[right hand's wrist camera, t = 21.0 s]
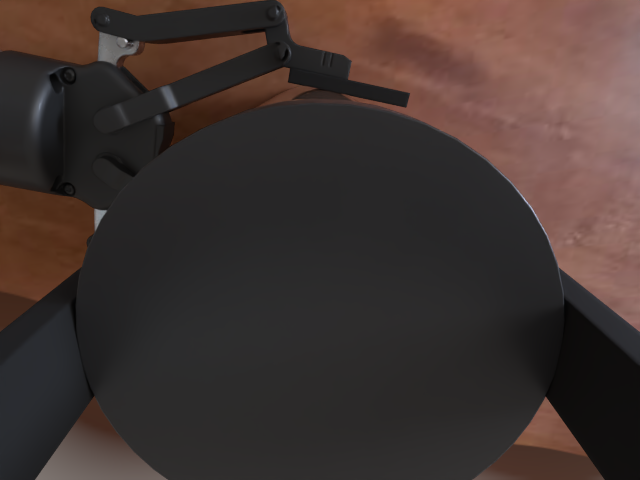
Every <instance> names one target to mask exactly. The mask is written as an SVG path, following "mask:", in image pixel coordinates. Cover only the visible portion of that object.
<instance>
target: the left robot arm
mask: <svg viewBox="0 0 640 480" xmlns="http://www.w3.org/2000/svg"><path fill="white" fill-rule="evenodd" d="M91 22H92V24H93V26H94V28H95V29H96V30H97V31H100V33H99V49H98V61H95V62H93V63H90V64H87V65H80V64H75V63H70V62H65V61H60V60H55V59H51V58H46V57H41V56H36V55H31V54H27V53H22V52H17V51H1V50H0V184H1V185H5V186H11V187H16V188H22V189H27V190H32V191H38V192H43V193H49V194H54V195H61V196H70V197H75V198H78V199H80V200H82V201H84V202H85V203H87V204H88V205H89V206H91V207H92V208H94V220H95V231H96V229H97V227H98V225H99V223H100V220H101V219H102V217H103V216H104V214H105V213H106V211H107V210H108V208H109V207H110V206H111V204H112V203H113V201H114V200H115V198H116V197H117V195H118V194H119V193H120V191H121V190H122V189H123V188H124V187H125V186H126V185H127V184H128V183H129V182H130V181H131V180H132V179H133V178H134V177H135V176H136V175H137V173H138V172H139V171H140V170H141V169H142V168H143V167H145V166H146V165H147V164H149V163H150V162H151V161H152V160H154V159H155V158H156V157H157V156H159V155H160V154H161V153H163V152H164V151H165V150H166V149H168V148H169V146H170V143H171V141H172V138H173V135H174V125H175V122H172V120H171V117H170V114H169V112H171V111H174V110H176V109H179V108H181V107H184V106H186V105H188V104H191V103H193V102H196V101H198V100H201V99H203V98H206V97H208V96H211V95H213V94H216V93H219V92H221V91H224V90H226V89H229V88H231V87H234V86H236V85H239V84H241V83H244V82H247V81H249V80H252V79H254V78H257V77H259V76H262V75H264V74H267V73H269V72H272V71H275V70H277V69H280V68H282V67H287V68H290V73H289V79H288V82H289V83H294V84H298V85H303V86H308V87H312V88H317V89H322V90H326V91H331V92H336V93H340V94H345V95H350V96H354V97H359V98H364V99H369V100H373V101H378V102H383V103H387V104H392V105H397V106H401V107H406V106H407V103H408V99H409V95H410V93H406V92H402V91H397V90H393V89H388V88H383V87H379V86H374V85H369V84H365V83H360V82H356V81H351V80H348V76H349V71H350V67H351V62H352V61H351V60H349V59H348V58H347V57H345V56H344V55H340V54H336V53H331V52H327V51H322V50H317V49H313V48H308V47H304V46H300V45H297V44H296V43H294V42H293V41H292V39H291V37H290V32H289V26H288V20H287V14H286V11H285V9H284V7H283V6H282V4H281V3H280V2H278V1H276V0H266V1H257V2H249V3H241V4H232V5H224V6H216V7H207V8H199V9H191V10H182V11H174V12H166V13H157V14H149V15H141V16H135V15H132V14H128V13H124V12H120V11H117V10H113V9H109V8H105V7H97V8H95V9H94V10H93V11H92V13H91ZM260 32H265V33H266V39H267V45H266V46H263V47H261V48H258V49H256V50H253V51H251V52H248V53H246V54H243V55H241V56H238V57H236V58H233V59H231V60H228V61H226V62H223V63H221V64H218V65H216V66H213V67H211V68H208V69H206V70H203V71H201V72H198V73H196V74H193V75H191V76H188V77H186V78H183V79H181V80H178V81H176V82H173V83H171V84H168V85H165V86H162V87H159V88H156V89H154V90H151V91H148V90H147V89H146V88H145V87H144V86H143V85H142V84H141V83H140V82H139V81H138V80H137V79H136V78H135V77H134V76H133V75H132V74H131V73H130V72H129V71H128V70H127V69H126V68H125V67H124V66H123V63H124V60H125V59H126V58H127V57H129V56H136V55H140V54H141V53H142V52H143V50H144V47H145V42H146V43H153V44H167V43H176V42H184V41H193V40H201V39H209V38H218V37H226V36H235V35H243V34H252V33H260ZM93 235H94V234H93ZM93 235H92V236H90V237H89V238H88V239H87V247H88V246H89V243H90V241H91V239H92V237H93Z"/></svg>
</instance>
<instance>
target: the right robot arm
mask: <svg viewBox="0 0 640 480" xmlns="http://www.w3.org/2000/svg"><path fill="white" fill-rule="evenodd" d="M81 268H82V267H81ZM81 268H80V269H79V270H77V271H76V272H75V273H74V274H72V275H71V276H70V277H69V278H67V279H66V280H65V281H63V282H62V283H61V284H60V285H58V286H57V287H56V288H55V289H53V290H52V291H51V292H50V293H48V294H47V295H46V296H45V297H43V298H42V299H41V300H40V301H38V302H37V303H36V304H35V305H33V306H32V307H31V308H30V309H28V310H27V311H26V312H25V313H23V314H22V315H21V316H20V317H18V318H17V319H16V320H15V321H13V322H12V323H11V324H10V325H8V326H7V327H6V328H5V329H3V330H2V331H1V332H0V480H35V479H36V477H37V476H38V475H39V473H40V472H41V470H42V469H43V468H44V466H45V465H46V463H47V462H48V460H49V459H50V458H51V456H52V455H53V453H54V452H55V451H56V449H57V448H58V446H59V445H60V443H61V442H62V441H63V439H64V438H65V436H66V435H67V434H68V432H69V431H70V429H71V428H72V427H73V425H74V424H75V422H76V421H77V419H78V418H79V417H80V415H81V414H82V412H83V411H84V410H85V408H86V407H87V405H88V404H89V402H90V401H91V400H92V398H93V397H94V394H93V392H92V390H91V388H90V386H89V383H88V380H87V377H86V374H85V371H84V368H83V365H82V361H81V356H80V352H79V347H78V341H77V335H76V310H75V304H76V297H77V289H78V281H79V275H80V272H81ZM558 268H559V267H558ZM559 273H560V278H561V283H562V288H563V293H564V318H565V322H564V331H563V340H562V345H561V350H560V354H559V359H558V363H557V367H556V371H555V375H554V377H553V380H552V382H551V384H550V387H549V389H548V391H547V394H546V397H547V399H548V400H549V402H550V403H551V404H552V406H553V407H554V409H555V410H556V411H557V413H558V414H559V416H560V417H561V419H562V420H563V421H564V423H565V424H566V426H567V427H568V428H569V430H570V431H571V433H572V434H573V435H574V437H575V438H576V440H577V441H578V443H579V444H580V445H581V447H582V448H583V450H584V451H585V452H586V454H587V455H588V457H589V458H590V459H591V461H592V462H593V464H594V465H595V467H596V468H597V469H598V471H599V472H600V474H601V475H602V476H603V478H604V479H605V480H640V332H639V331H638V330H636V329H635V328H634V327H633V326H631V325H630V324H629V323H628V322H626V321H625V320H624V319H623V318H621V317H620V316H619V315H618V314H616V313H615V312H614V311H613V310H611V309H610V308H609V307H608V306H606V305H605V304H604V303H603V302H601V301H600V300H599V299H598V298H596V297H595V296H594V295H592V294H591V293H590V292H589V291H587V290H586V289H585V288H584V287H582V286H581V285H580V284H579V283H577V282H576V281H575V280H574V279H572V278H571V277H570V276H569V275H567V274H566V273H565V272H564V271H562V270H561V269H560V268H559Z"/></svg>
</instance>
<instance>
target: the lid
mask: <svg viewBox="0 0 640 480" xmlns="http://www.w3.org/2000/svg"><path fill="white" fill-rule="evenodd" d="M75 310H76V335H77V341H78V347H79V352H80V356H81V361H82V365H83V368H84V371H85V374H86V377H87V380H88V383H89V386H90V388H91V390H92V392H93V394H94V396H95V398H96V400H97V402H98V404H99V406H100V408H101V410H102V411H103V413H104V414H105V416H106V417H107V419H108V420H109V422H110V423H111V425H112V426H113V427H114V429H115V431H116V432H117V433H118V434H119V435H120V437H121V438H122V439H123V440H124V441H125V442H126V443H127V444H128V446H129V447H130V448H131V449H132V450H133V451H134V452H135V453H136V454H137V455H138V456H139V457H140V458H141V459H143V460H144V461H145V462H146V463H147V464H148V465H149V466H150V467H151V468H153V469H154V470H155V471H157V472H158V473H159V474H161V475H162V476H164V477H165V478H166V479H168V480H472V479H474V478H475V477H477V476H478V475H479V474H480V473H482V472H483V471H484V470H485V469H487V468H488V467H489V466H491V465H492V464H493V463H494V462H496V461H497V460H498V458H500V457H501V456H502V455H503V454H504V453H505V452H506V451H507V450H508V449H509V448H510V447H511V446H512V445H513V444H514V442H515V441H516V440H517V439H518V437H519V436H520V435H521V434H522V432H523V431H524V430H525V428H526V427H527V426H528V425H529V423H530V422H531V420H532V419H533V417H534V415H535V414H536V412H537V410H538V409H539V407H540V405H541V404H542V402H543V400H544V398H545V396H546V394H547V391H548V389H549V387H550V384H551V382H552V380H553V377H554V375H555V371H556V367H557V363H558V359H559V354H560V350H561V345H562V340H563V331H564V322H565V318H564V293H563V288H562V283H561V278H560V273H559V268H558V263H557V260H556V258H555V255H554V252H553V250H552V247H551V244H550V241H549V239H548V236H547V234H546V232H545V230H544V229H543V227H542V225H541V223H540V222H539V220H538V218H537V216H536V214H535V213H534V211H533V209H532V207H531V206H530V205H529V204H528V202H527V201H526V200H525V199H524V197H523V196H522V195H521V193H520V192H519V191H518V190H517V188H516V187H515V186H514V185H513V183H512V182H511V181H510V180H509V179H508V178H507V177H506V176H504V175H503V174H502V173H501V172H500V171H499V170H498V169H497V168H496V167H495V166H494V165H493V164H492V163H491V162H489V161H488V160H487V159H486V158H485V157H483V156H482V155H480V154H479V153H477V152H476V151H474V150H473V149H472V148H470V147H469V146H467V145H466V144H464V143H463V142H461V141H460V140H458V139H457V138H455V137H453V136H451V135H449V134H447V133H445V132H443V131H441V130H439V129H437V128H435V127H433V126H430V125H428V124H426V123H424V122H422V121H420V120H417V119H415V118H413V117H410V116H408V115H405V114H402V113H399V112H396V111H393V110H390V109H387V108H384V107H380V106H377V105H371V104H366V103H360V102H355V101H349V100H335V99H304V100H294V101H284V102H278V103H273V104H269V105H265V106H261V107H257V108H253V109H249V110H246V111H243V112H241V113H238V114H236V115H233V116H231V117H228V118H226V119H223V120H221V121H218V122H216V123H214V124H211V125H209V126H207V127H204V128H202V129H200V130H198V131H197V132H195V133H193V134H191V135H190V136H188V137H186V138H184V139H183V140H181V141H179V142H177V143H176V144H174V145H172V146H170V147H169V148H168V149H166V150H165V151H164V152H163V153H161V154H160V155H159V156H157V157H156V158H155V159H154V160H152V161H151V162H150V163H149V164H147V165H146V166H145V167H143V168H142V169H141V170H140V171H139V172H138V173H137V175H136V176H135V177H134V178H133V179H132V180H131V181H130V182H129V183H128V184H127V185H126V186H125V187H124V188H123V189H122V190H121V191H120V193H119V194H118V195H117V197H116V198H115V200H114V201H113V203H112V204H111V206H110V207H109V208H108V210H107V211H106V213H105V214H104V216H103V217H102V219H101V220H100V223H99V225H98V227H97V229H96V231H95V233H94V235H93V237H92V239H91V241H90V243H89V246H88V248H87V251H86V255H85V258H84V261H83V265H82V268H81V272H80V275H79V281H78V289H77V297H76V304H75Z"/></svg>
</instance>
